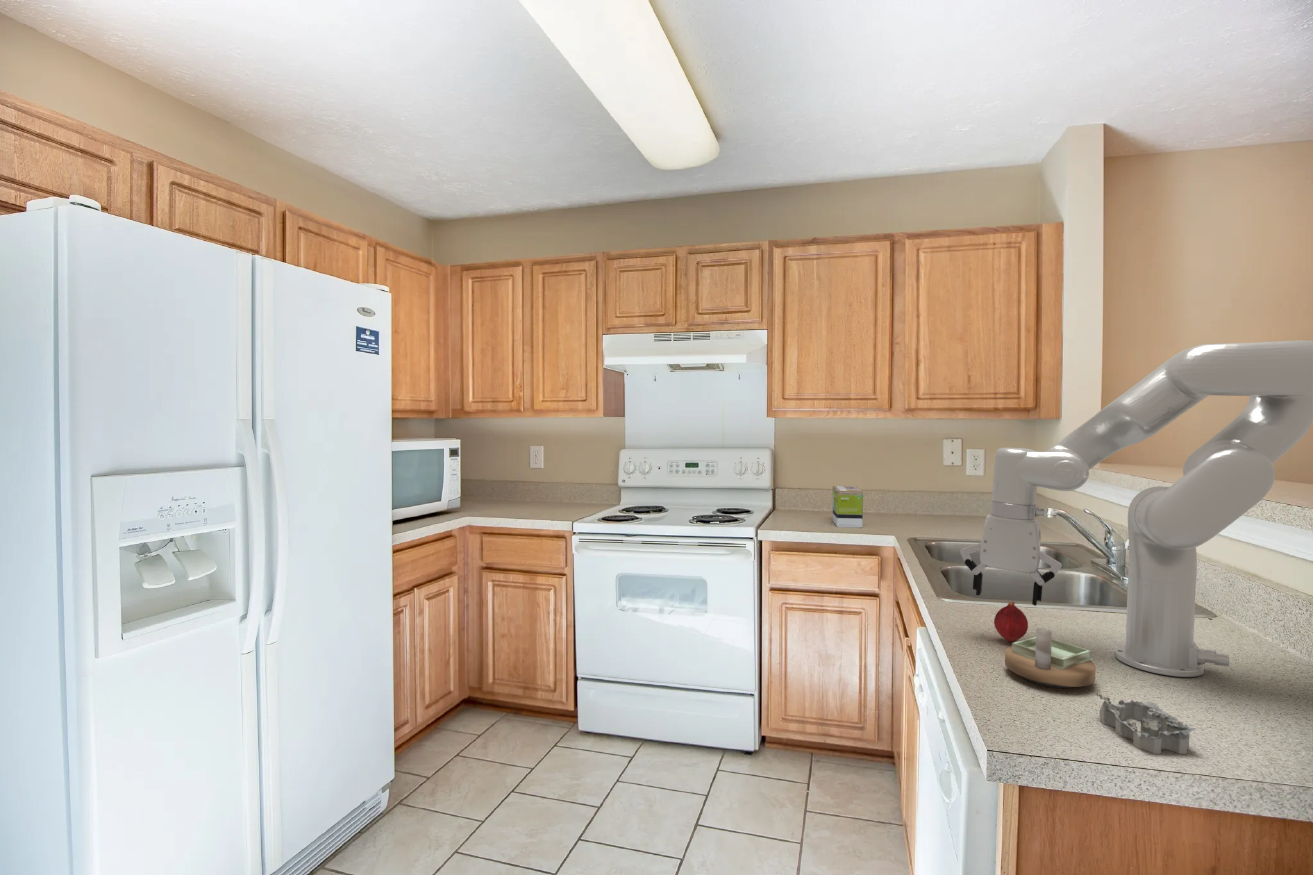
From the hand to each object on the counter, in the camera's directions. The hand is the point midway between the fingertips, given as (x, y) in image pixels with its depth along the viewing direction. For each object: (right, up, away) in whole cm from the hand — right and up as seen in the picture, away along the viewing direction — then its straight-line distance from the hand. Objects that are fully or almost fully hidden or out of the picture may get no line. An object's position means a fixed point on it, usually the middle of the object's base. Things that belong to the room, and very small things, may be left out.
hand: (1006, 598), depth 126 cm
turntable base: (-2, -9, -17) cm, 19 cm away
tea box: (+8, -4, +133) cm, 133 cm away
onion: (+1, -9, 0) cm, 9 cm away
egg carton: (-1, -10, -36) cm, 38 cm away
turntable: (-2, -8, -17) cm, 19 cm away
